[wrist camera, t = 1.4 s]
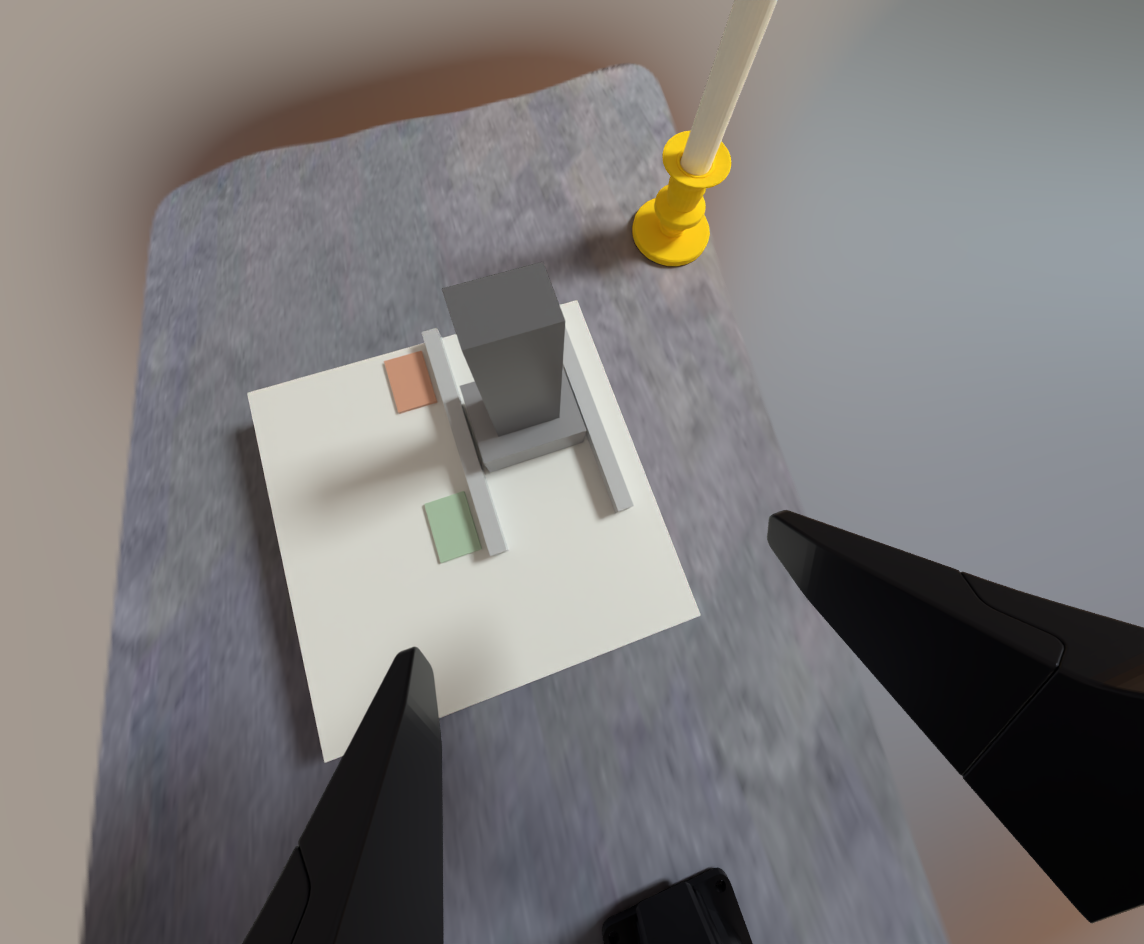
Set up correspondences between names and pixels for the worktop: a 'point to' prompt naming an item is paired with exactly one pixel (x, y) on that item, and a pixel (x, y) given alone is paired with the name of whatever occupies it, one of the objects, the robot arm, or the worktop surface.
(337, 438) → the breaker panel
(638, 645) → the worktop surface
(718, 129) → the candle
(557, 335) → the handle
